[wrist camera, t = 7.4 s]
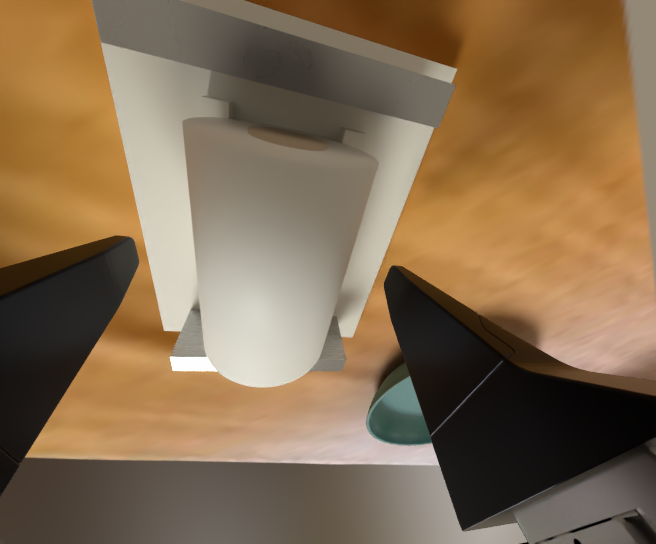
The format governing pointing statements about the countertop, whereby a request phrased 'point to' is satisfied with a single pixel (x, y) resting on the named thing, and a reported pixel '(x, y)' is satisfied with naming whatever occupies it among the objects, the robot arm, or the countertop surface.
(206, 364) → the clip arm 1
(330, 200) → the paper roll
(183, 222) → the holder base
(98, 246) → the robot arm
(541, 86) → the countertop surface
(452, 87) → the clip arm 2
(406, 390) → the green round piece
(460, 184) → the countertop surface
